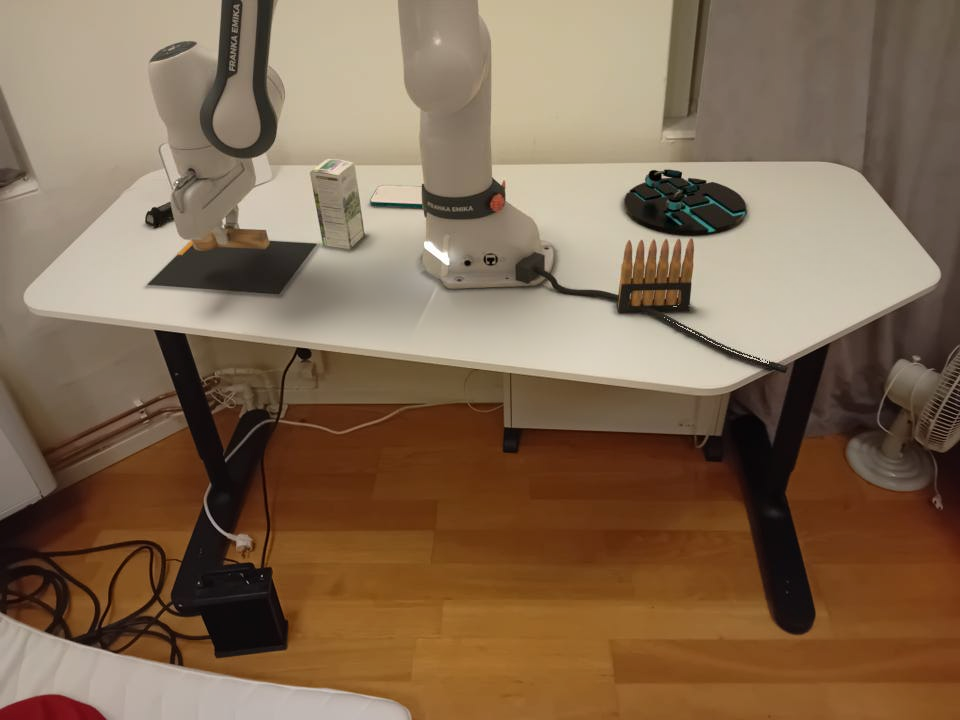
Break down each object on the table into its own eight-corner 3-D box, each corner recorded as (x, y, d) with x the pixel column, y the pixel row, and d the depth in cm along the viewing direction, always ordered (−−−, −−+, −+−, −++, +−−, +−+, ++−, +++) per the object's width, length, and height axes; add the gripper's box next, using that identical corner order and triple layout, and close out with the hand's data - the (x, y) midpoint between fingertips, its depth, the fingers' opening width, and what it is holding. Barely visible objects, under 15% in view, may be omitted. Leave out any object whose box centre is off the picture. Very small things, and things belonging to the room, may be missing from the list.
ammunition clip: (617, 313, 113) (623, 243, 106) (616, 306, 115) (621, 237, 107) (689, 311, 113) (699, 241, 105) (686, 304, 114) (697, 234, 107)
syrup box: (338, 232, 138) (324, 157, 130) (366, 236, 137) (354, 160, 128) (322, 246, 134) (307, 170, 125) (351, 251, 133) (338, 174, 124)
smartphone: (456, 191, 150) (379, 188, 152) (456, 187, 149) (379, 184, 152) (449, 210, 144) (369, 206, 146) (449, 205, 143) (368, 202, 145)
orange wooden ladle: (273, 239, 123) (269, 225, 122) (261, 253, 120) (257, 239, 118) (202, 236, 126) (198, 222, 124) (188, 250, 122) (183, 236, 121)
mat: (317, 245, 135) (317, 243, 135) (279, 296, 122) (278, 293, 121) (196, 238, 139) (196, 235, 139) (147, 286, 126) (146, 284, 126)
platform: (700, 174, 151) (704, 143, 147) (770, 219, 134) (777, 185, 130) (603, 195, 145) (604, 164, 141) (664, 245, 129) (668, 211, 125)
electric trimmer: (222, 199, 153) (218, 185, 151) (155, 229, 143) (150, 213, 141) (211, 195, 154) (207, 181, 153) (144, 224, 145) (139, 209, 143)
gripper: (189, 186, 105) (217, 271, 113) (252, 132, 121) (272, 210, 129) (149, 185, 106) (179, 269, 115) (216, 131, 122) (238, 209, 130)
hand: (229, 237), depth 122 cm, fingers closed on orange wooden ladle, 2 cm apart
